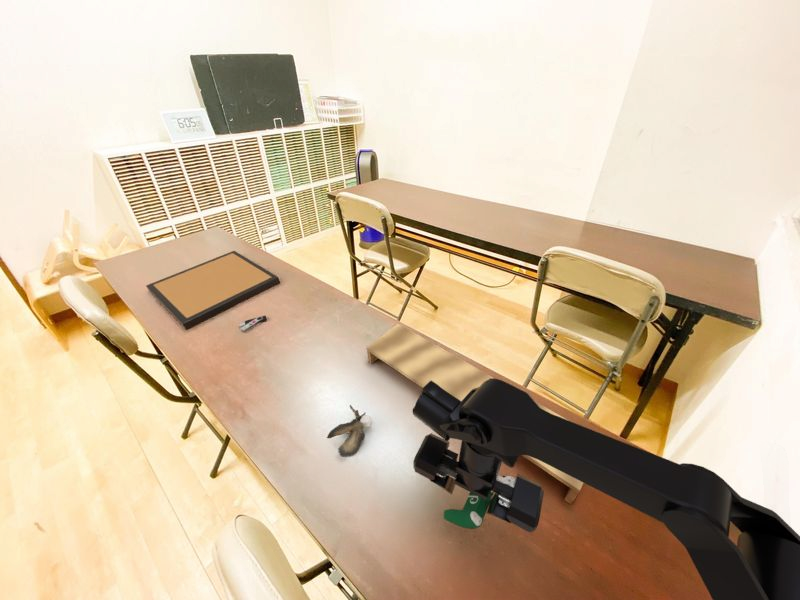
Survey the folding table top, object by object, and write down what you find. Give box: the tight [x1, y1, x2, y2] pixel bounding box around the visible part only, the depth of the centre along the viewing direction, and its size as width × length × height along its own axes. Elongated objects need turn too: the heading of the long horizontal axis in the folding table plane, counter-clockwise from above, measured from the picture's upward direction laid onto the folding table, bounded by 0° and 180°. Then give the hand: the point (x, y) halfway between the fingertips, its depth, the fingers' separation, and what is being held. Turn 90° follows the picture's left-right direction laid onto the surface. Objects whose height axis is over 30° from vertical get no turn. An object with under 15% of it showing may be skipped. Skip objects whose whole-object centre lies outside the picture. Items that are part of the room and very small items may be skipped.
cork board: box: [145, 250, 281, 331], centre depth 125 cm, size 36×3×35 cm
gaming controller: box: [443, 491, 495, 530], centre depth 54 cm, size 9×4×6 cm
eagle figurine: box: [326, 404, 373, 458], centre depth 72 cm, size 8×7×9 cm
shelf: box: [366, 323, 584, 505], centre depth 79 cm, size 56×13×6 cm, turn 48°
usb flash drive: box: [238, 315, 268, 333], centre depth 106 cm, size 9×5×1 cm, turn 115°
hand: (470, 500), depth 54 cm, fingers closed on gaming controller, 6 cm apart
